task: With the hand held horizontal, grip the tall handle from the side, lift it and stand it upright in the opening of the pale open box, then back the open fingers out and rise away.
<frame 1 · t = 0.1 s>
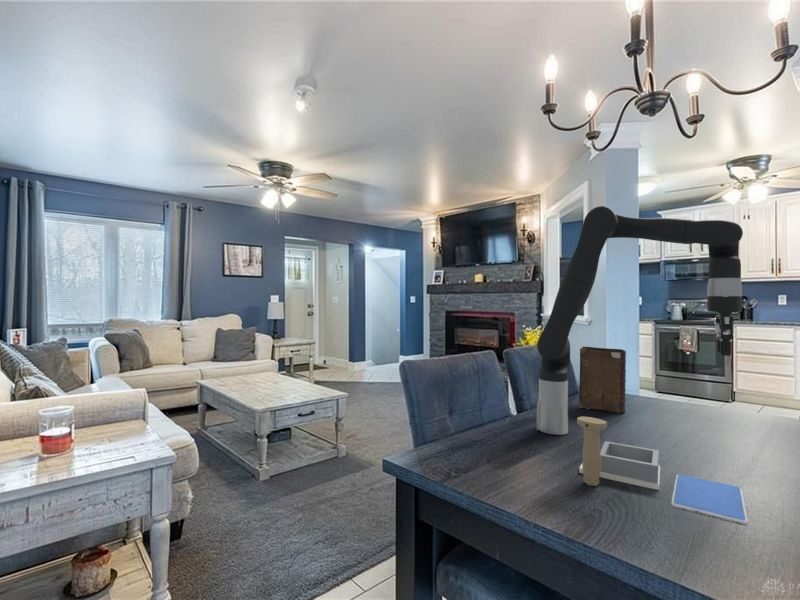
hand: (723, 353, 113), 29 cm above the table, tool pointing down, fingers open, 8 cm apart
open box: (620, 471, 104), on the table
tablet computer: (707, 501, 90), on the table
book: (602, 410, 165), on the table
handle: (591, 484, 97), on the table
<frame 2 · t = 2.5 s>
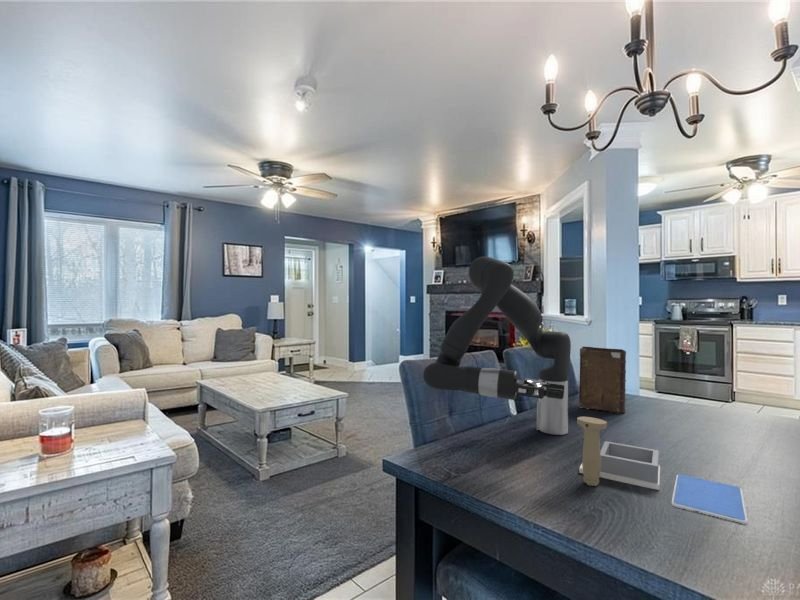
hand: (563, 391, 102), 21 cm above the table, tool horizontal, fingers open, 8 cm apart
nothing on the table moved.
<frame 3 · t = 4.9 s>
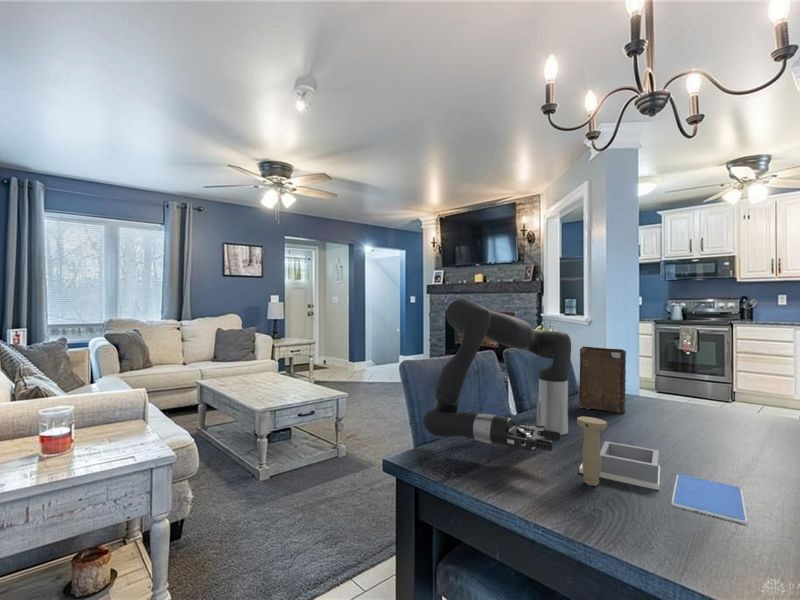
hand: (556, 441, 101), 8 cm above the table, tool horizontal, fingers open, 8 cm apart
nothing on the table moved.
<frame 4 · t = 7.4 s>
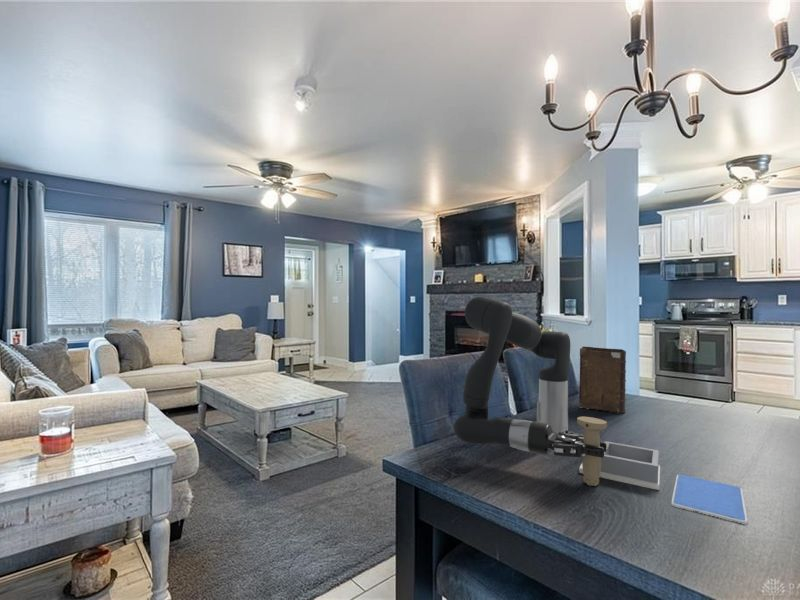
hand: (604, 450, 95), 9 cm above the table, tool horizontal, fingers closed on handle, 3 cm apart
handle: (591, 484, 97), on the table, touching gripper
everything else where it was.
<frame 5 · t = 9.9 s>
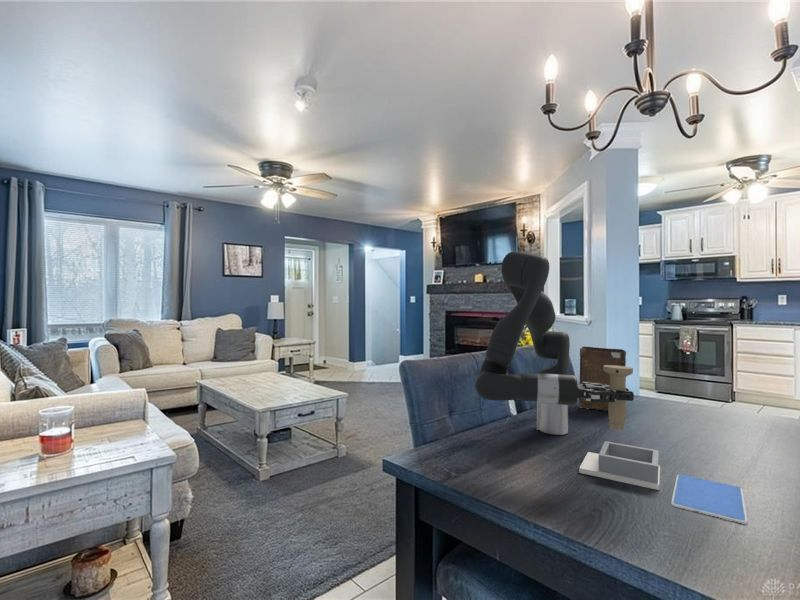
hand: (630, 394, 100), 21 cm above the table, tool horizontal, fingers closed on handle, 3 cm apart
handle: (616, 428, 100), point 12 cm above the table, touching gripper
everything else where it was.
when the fingers open (11 cm above the table, at t = 12.5 s): handle stays where it is, resting on open box.
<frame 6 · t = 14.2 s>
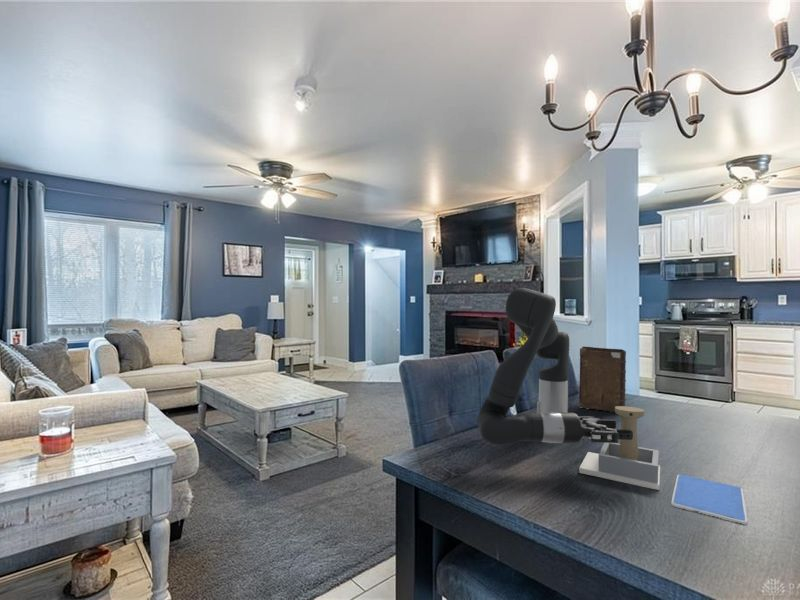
hand: (623, 429, 103), 11 cm above the table, tool horizontal, fingers open, 8 cm apart
handle: (628, 469, 103), point 1 cm above the table, touching open box
everything else where it was.
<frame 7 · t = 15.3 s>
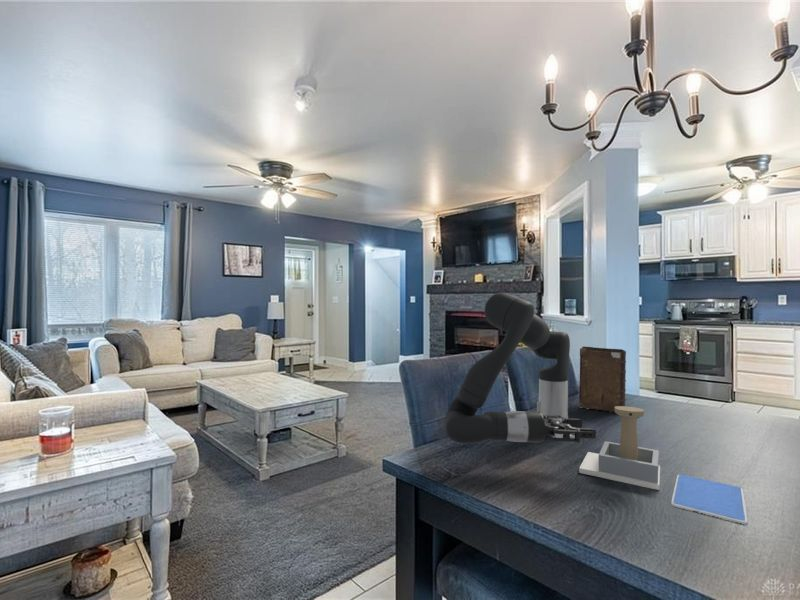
hand: (588, 428, 104), 11 cm above the table, tool horizontal, fingers open, 8 cm apart
nothing on the table moved.
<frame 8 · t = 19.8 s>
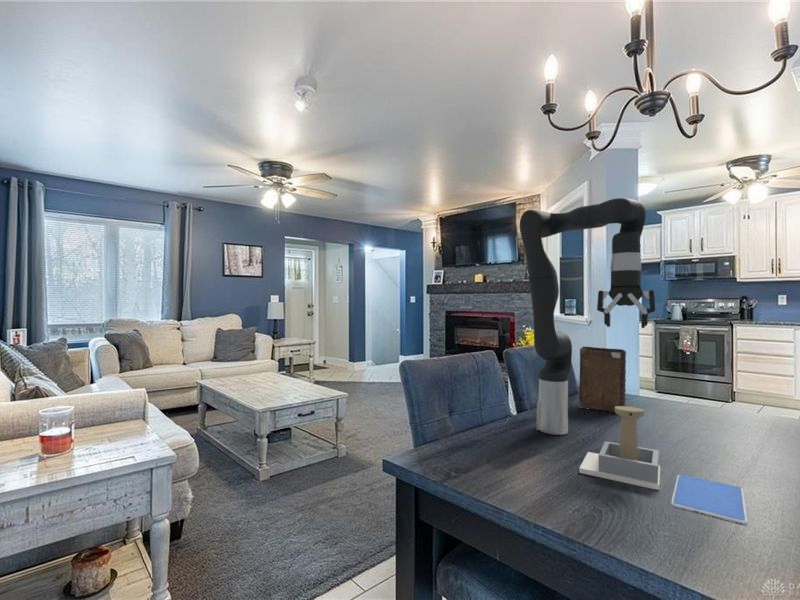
hand: (625, 327, 115), 36 cm above the table, tool pointing down, fingers open, 8 cm apart
nothing on the table moved.
at the end: handle 0.1 cm from the target spot on the open box, point 1.0 cm above the open box's base; handle tilted 0°; the gripper is holding nothing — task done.
